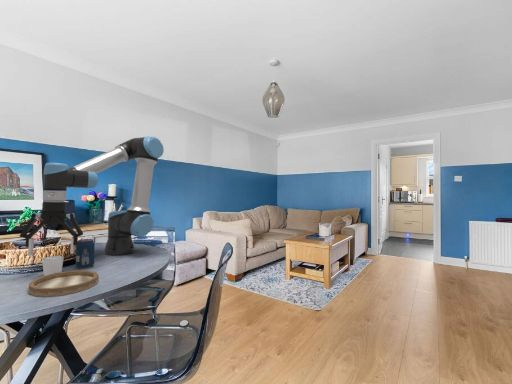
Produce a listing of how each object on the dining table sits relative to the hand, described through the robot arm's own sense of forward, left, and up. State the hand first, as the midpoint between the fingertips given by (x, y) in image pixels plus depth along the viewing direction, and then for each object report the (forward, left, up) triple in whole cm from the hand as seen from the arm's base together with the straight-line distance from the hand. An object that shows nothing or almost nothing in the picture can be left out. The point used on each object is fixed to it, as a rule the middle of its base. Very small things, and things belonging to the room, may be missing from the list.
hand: (52, 254), depth 105 cm
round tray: (-2, +17, -8) cm, 19 cm away
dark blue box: (-12, -5, -9) cm, 16 cm away
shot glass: (0, 0, -9) cm, 9 cm away
